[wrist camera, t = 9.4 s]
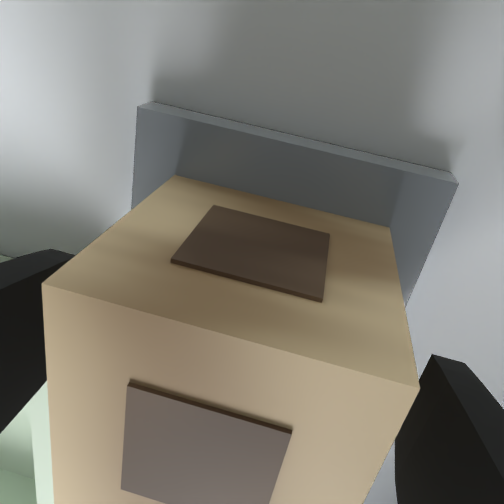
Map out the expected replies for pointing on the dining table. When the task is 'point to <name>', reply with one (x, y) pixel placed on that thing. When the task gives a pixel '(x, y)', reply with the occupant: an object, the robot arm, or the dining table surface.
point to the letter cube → (226, 354)
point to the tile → (296, 176)
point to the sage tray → (27, 452)
